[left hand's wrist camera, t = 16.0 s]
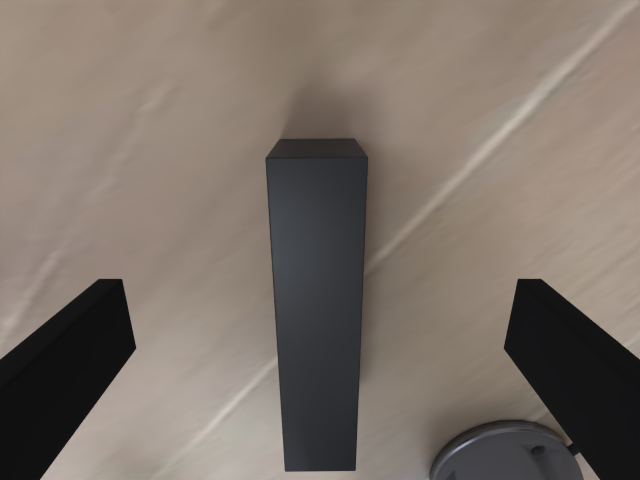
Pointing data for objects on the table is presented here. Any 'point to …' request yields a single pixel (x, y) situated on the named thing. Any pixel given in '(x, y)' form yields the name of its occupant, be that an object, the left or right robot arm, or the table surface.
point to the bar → (318, 295)
